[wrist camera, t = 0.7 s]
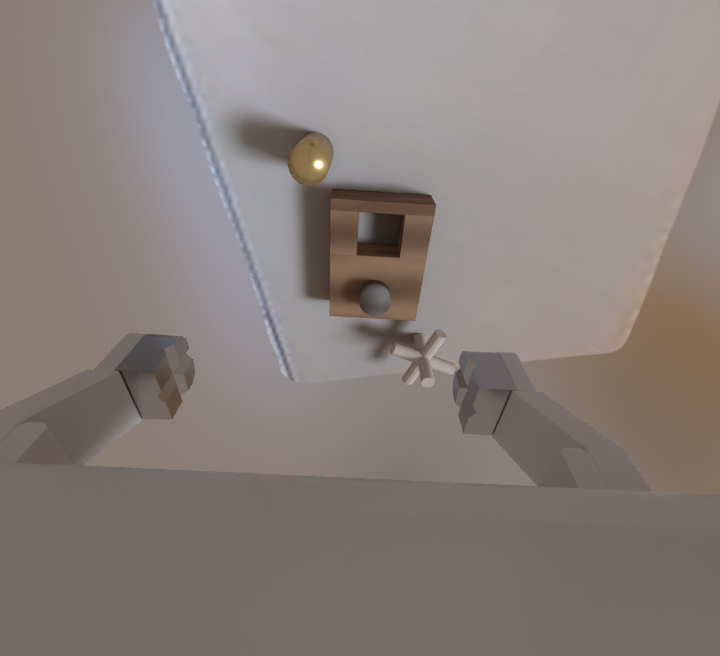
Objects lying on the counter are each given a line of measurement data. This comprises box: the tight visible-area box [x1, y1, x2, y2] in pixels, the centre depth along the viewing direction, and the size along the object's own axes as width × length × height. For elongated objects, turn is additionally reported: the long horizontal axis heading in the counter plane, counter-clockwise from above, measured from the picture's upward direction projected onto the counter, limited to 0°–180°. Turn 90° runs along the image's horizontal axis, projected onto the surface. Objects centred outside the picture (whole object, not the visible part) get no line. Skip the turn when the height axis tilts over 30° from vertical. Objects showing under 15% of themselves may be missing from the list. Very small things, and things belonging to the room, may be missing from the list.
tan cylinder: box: [288, 132, 334, 186], centre depth 38 cm, size 4×4×7 cm
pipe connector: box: [390, 329, 456, 387], centre depth 52 cm, size 10×10×10 cm
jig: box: [330, 189, 436, 321], centre depth 45 cm, size 16×12×6 cm
